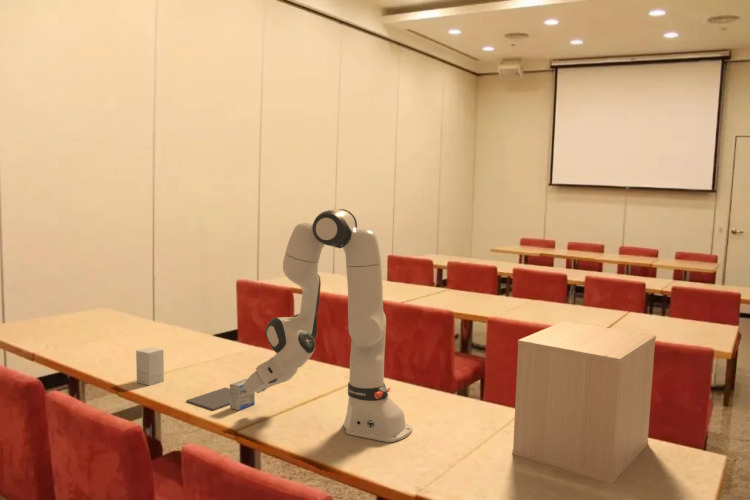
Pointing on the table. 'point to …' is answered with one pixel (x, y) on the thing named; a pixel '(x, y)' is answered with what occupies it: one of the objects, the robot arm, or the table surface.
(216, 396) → the mat
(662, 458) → the table surface
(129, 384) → the table surface
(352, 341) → the robot arm
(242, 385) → the medicine box
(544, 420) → the cabinet
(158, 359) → the supplement box
